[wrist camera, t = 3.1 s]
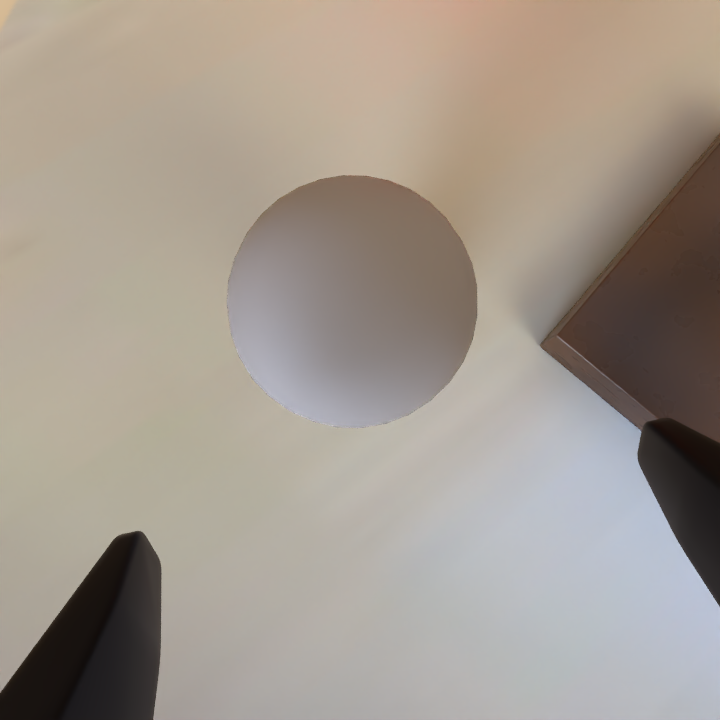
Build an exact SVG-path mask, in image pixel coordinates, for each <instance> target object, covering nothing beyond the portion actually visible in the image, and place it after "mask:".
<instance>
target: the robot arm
mask: <svg viewBox="0 0 720 720" xmlns="http://www.w3.org/2000/svg"><path fill="white" fill-rule="evenodd" d="M638 462H639V465H640V467H641V469H642V471H643V473H644V475H645V477H646V479H647V481H648V483H649V485H650V487H651V489H652V491H653V493H654V495H655V497H656V499H657V501H658V503H659V505H660V507H661V509H662V511H663V513H664V515H665V517H666V519H667V521H668V523H669V525H670V527H671V529H672V531H673V533H674V535H675V537H676V538H677V540H678V542H679V544H680V545H681V547H682V549H683V550H684V552H685V553H686V555H687V557H688V558H689V560H690V561H691V563H692V564H693V566H694V567H695V569H696V571H697V572H698V574H699V575H700V577H701V578H702V580H703V581H704V583H705V584H706V586H707V588H708V589H709V591H710V592H711V594H712V595H713V597H714V598H715V600H716V602H717V603H718V605H719V606H720V443H719V442H717V441H715V440H713V439H711V438H709V437H707V436H705V435H703V434H701V433H699V432H697V431H695V430H693V429H691V428H689V427H688V426H686V425H684V424H682V423H680V422H678V421H676V420H674V419H671V418H660V419H656V420H651V421H647V422H646V423H645V424H644V425H643V428H642V433H641V438H640V443H639V448H638ZM160 649H161V564H160V560H159V558H158V556H157V554H156V552H155V551H154V549H153V547H152V546H151V544H150V542H149V541H148V539H147V537H146V536H145V534H144V533H143V532H141V531H135V532H130V533H126V534H121V535H119V536H117V537H116V538H115V539H114V540H113V541H112V542H111V544H110V545H109V547H108V548H107V549H106V551H105V552H104V553H103V555H102V556H101V557H100V559H99V560H98V561H97V563H96V564H95V565H94V567H93V568H92V570H91V571H90V572H89V574H88V575H87V576H86V578H85V579H84V580H83V582H82V583H81V584H80V586H79V587H78V588H77V590H76V591H75V592H74V594H73V595H72V597H71V598H70V599H69V601H68V602H67V603H66V605H65V606H64V607H63V609H62V610H61V611H60V613H59V614H58V615H57V617H56V618H55V620H54V621H53V622H52V624H51V625H50V626H49V628H48V629H47V630H46V632H45V633H44V634H43V636H42V637H41V638H40V640H39V641H38V643H37V644H36V645H35V647H34V648H33V649H32V651H31V652H30V653H29V655H28V656H27V657H26V659H25V660H24V661H23V663H22V664H21V666H20V667H19V668H18V670H17V671H16V672H15V674H14V675H13V676H12V678H11V679H10V680H9V682H8V683H7V684H6V686H5V687H4V688H3V690H2V691H1V693H0V720H153V715H154V707H155V699H156V691H157V682H158V674H159V664H160Z"/></svg>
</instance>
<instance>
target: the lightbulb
mask: <svg viewBox="0 0 720 720" xmlns="http://www.w3.org/2000/svg"><path fill="white" fill-rule="evenodd" d="M227 309H228V316H229V323H230V330H231V335H232V338H233V341H234V344H235V347H236V349H237V352H238V355H239V358H240V359H241V361H242V362H243V364H244V366H245V367H246V369H247V371H248V372H249V374H250V376H251V377H252V379H253V380H254V381H255V382H256V383H257V384H258V385H259V386H260V387H261V388H262V389H263V390H264V391H265V392H266V394H267V395H268V396H269V397H271V398H272V399H274V400H275V401H276V402H278V403H279V404H281V405H282V406H284V407H285V408H286V409H288V410H289V411H291V412H293V413H295V414H297V415H300V416H302V417H304V418H306V419H309V420H311V421H313V422H317V423H321V424H326V425H330V426H334V427H349V428H364V427H369V426H375V425H381V424H386V423H389V422H391V421H394V420H396V419H399V418H402V417H404V416H407V415H409V414H411V413H412V412H414V411H415V410H417V409H418V408H420V407H421V406H423V405H425V404H426V403H428V402H429V401H431V400H432V399H433V398H434V397H435V396H436V395H437V394H438V393H439V392H440V391H441V390H442V389H443V388H444V387H445V386H446V385H447V384H448V383H449V382H450V381H451V379H452V378H453V376H454V375H455V373H456V372H457V371H458V369H459V368H460V366H461V365H462V363H463V362H464V359H465V357H466V354H467V352H468V350H469V347H470V345H471V342H472V340H473V335H474V330H475V325H476V320H477V284H476V279H475V275H474V270H473V265H472V262H471V260H470V257H469V255H468V253H467V250H466V248H465V246H464V244H463V241H462V240H461V238H460V237H459V236H458V234H457V233H456V231H455V230H454V228H453V227H452V226H451V224H450V223H449V221H448V220H447V218H446V217H445V216H444V215H443V214H442V213H441V212H440V211H439V210H437V209H436V208H435V207H434V206H433V205H432V204H431V203H430V202H429V201H427V200H426V199H424V198H423V197H421V196H420V195H418V194H417V193H415V192H414V191H412V190H411V189H408V188H406V187H403V186H401V185H399V184H396V183H394V182H391V181H389V180H384V179H379V178H374V177H369V176H345V175H343V176H337V177H331V178H325V179H320V180H317V181H314V182H311V183H309V184H306V185H303V186H300V187H298V188H296V189H295V190H293V191H291V192H290V193H288V194H286V195H285V196H283V197H281V198H279V199H278V200H277V201H276V202H275V203H274V204H272V205H271V206H270V207H269V208H268V209H267V210H266V211H265V212H263V213H262V214H261V215H260V217H259V218H258V219H257V221H256V222H255V223H254V225H253V226H252V227H251V228H250V230H249V231H248V232H247V234H246V236H245V238H244V240H243V242H242V244H241V246H240V248H239V250H238V252H237V254H236V256H235V258H234V262H233V266H232V270H231V273H230V277H229V281H228V296H227Z"/></svg>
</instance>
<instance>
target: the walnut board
mask: <svg viewBox="0 0 720 720" xmlns="http://www.w3.org/2000/svg"><path fill="white" fill-rule="evenodd" d="M540 346H541V348H543V349H544V350H545V351H546V352H547V353H549V354H550V355H551V356H552V357H553V358H555V359H556V360H557V361H558V362H559V363H561V364H562V365H563V366H564V367H565V368H567V369H568V370H569V371H570V372H572V373H573V374H574V375H575V376H576V377H578V378H579V379H580V380H581V381H582V382H584V383H585V384H586V385H587V386H588V387H590V388H591V389H592V390H593V391H594V392H596V393H597V394H598V395H599V396H600V397H602V398H603V399H604V400H605V401H606V402H608V403H609V404H610V405H611V406H612V407H614V408H615V409H616V410H617V411H618V412H620V413H621V414H622V415H623V416H624V417H626V418H627V419H628V420H629V421H631V422H632V423H633V424H634V425H635V426H637V427H638V428H639V429H640V430H641V431H642V428H643V425H644V424H645V423H646V422H647V421H651V420H656V419H660V418H671V419H674V420H676V421H678V422H680V423H682V424H684V425H686V426H688V427H689V428H691V429H693V430H695V431H697V432H699V433H701V434H703V435H705V436H707V437H709V438H711V439H713V440H715V441H717V442H719V443H720V134H719V135H718V137H717V138H716V139H715V140H714V141H713V142H712V144H711V145H710V146H709V147H708V148H707V150H706V151H705V152H704V153H703V154H702V155H701V157H700V158H699V159H698V160H697V161H696V162H695V164H694V165H693V166H692V167H691V168H690V170H689V171H688V172H687V173H686V174H685V175H684V177H683V178H682V179H681V180H680V181H679V182H678V184H677V185H676V186H675V187H674V188H673V190H672V191H671V192H670V193H669V194H668V195H667V197H666V198H665V199H664V200H663V201H662V202H661V204H660V205H659V206H658V207H657V208H656V210H655V211H654V212H653V213H652V214H651V215H650V217H649V218H648V219H647V220H646V221H645V222H644V224H643V225H642V226H641V227H640V228H639V230H638V231H637V232H636V233H635V234H634V235H633V237H632V238H631V239H630V240H629V241H628V242H627V244H626V245H625V246H624V247H623V248H622V249H621V251H620V252H619V253H618V254H617V255H616V257H615V258H614V259H613V260H612V261H611V262H610V264H609V265H608V266H607V267H606V268H605V269H604V271H603V272H602V273H601V274H600V275H599V277H598V278H597V279H596V280H595V281H594V282H593V284H592V285H591V286H590V287H589V288H588V289H587V291H586V292H585V293H584V294H583V295H582V297H581V298H580V299H579V300H578V301H577V302H576V304H575V305H574V306H573V307H572V308H571V309H570V311H569V312H568V313H567V314H566V315H565V317H564V318H563V319H562V320H561V321H560V322H559V324H558V325H557V326H556V327H555V328H554V329H553V331H552V332H551V333H550V334H549V335H548V337H547V338H546V339H545V340H544V341H543V342H542V344H541V345H540Z"/></svg>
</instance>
